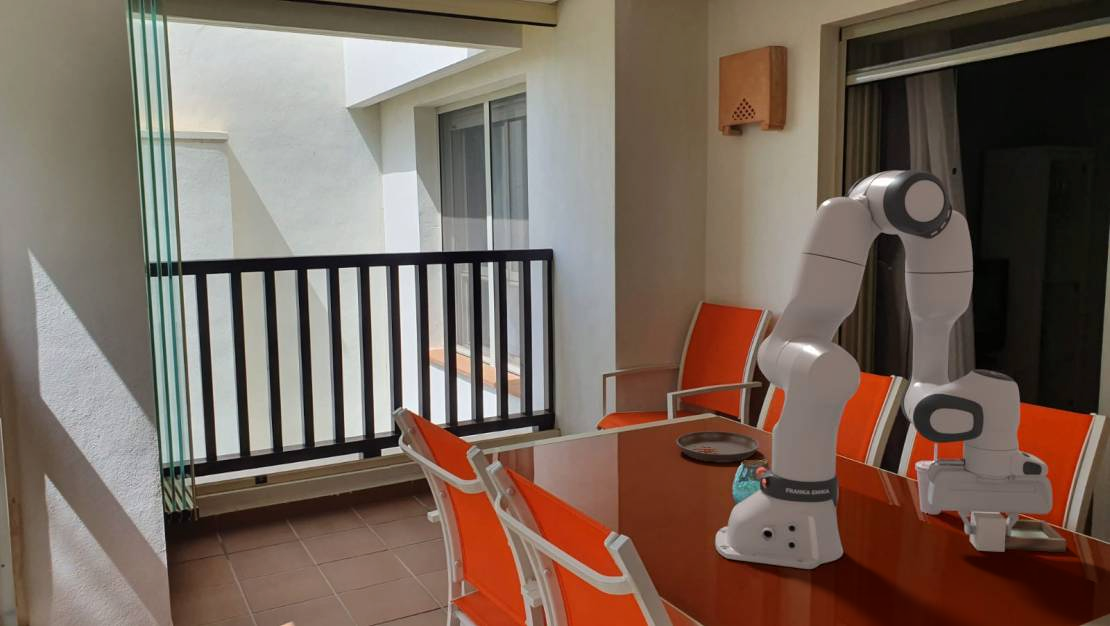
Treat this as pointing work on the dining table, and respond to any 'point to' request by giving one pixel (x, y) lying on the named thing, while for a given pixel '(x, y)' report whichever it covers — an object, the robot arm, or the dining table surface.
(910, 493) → the dining table surface
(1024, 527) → the rest tray
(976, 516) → the cream block
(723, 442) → the plant saucer
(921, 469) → the smoothie
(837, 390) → the robot arm
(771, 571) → the dining table surface
